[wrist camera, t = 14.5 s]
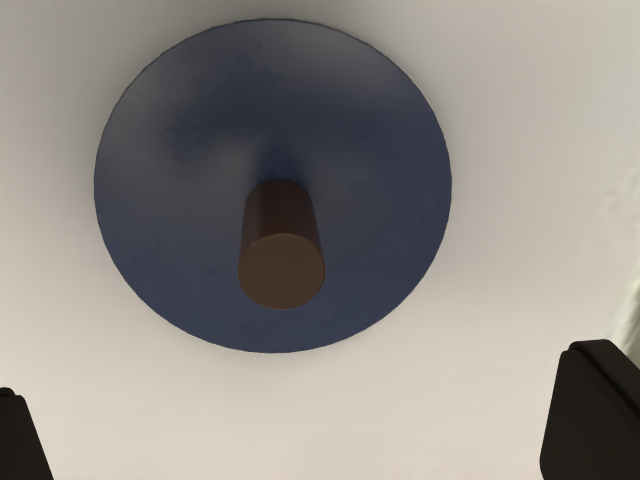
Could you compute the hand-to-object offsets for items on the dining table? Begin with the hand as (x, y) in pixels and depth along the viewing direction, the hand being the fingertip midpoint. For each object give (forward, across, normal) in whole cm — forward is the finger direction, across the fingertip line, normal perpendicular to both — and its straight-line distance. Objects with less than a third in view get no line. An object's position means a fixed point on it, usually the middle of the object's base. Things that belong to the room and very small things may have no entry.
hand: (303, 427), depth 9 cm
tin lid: (+10, 0, 0) cm, 10 cm away
